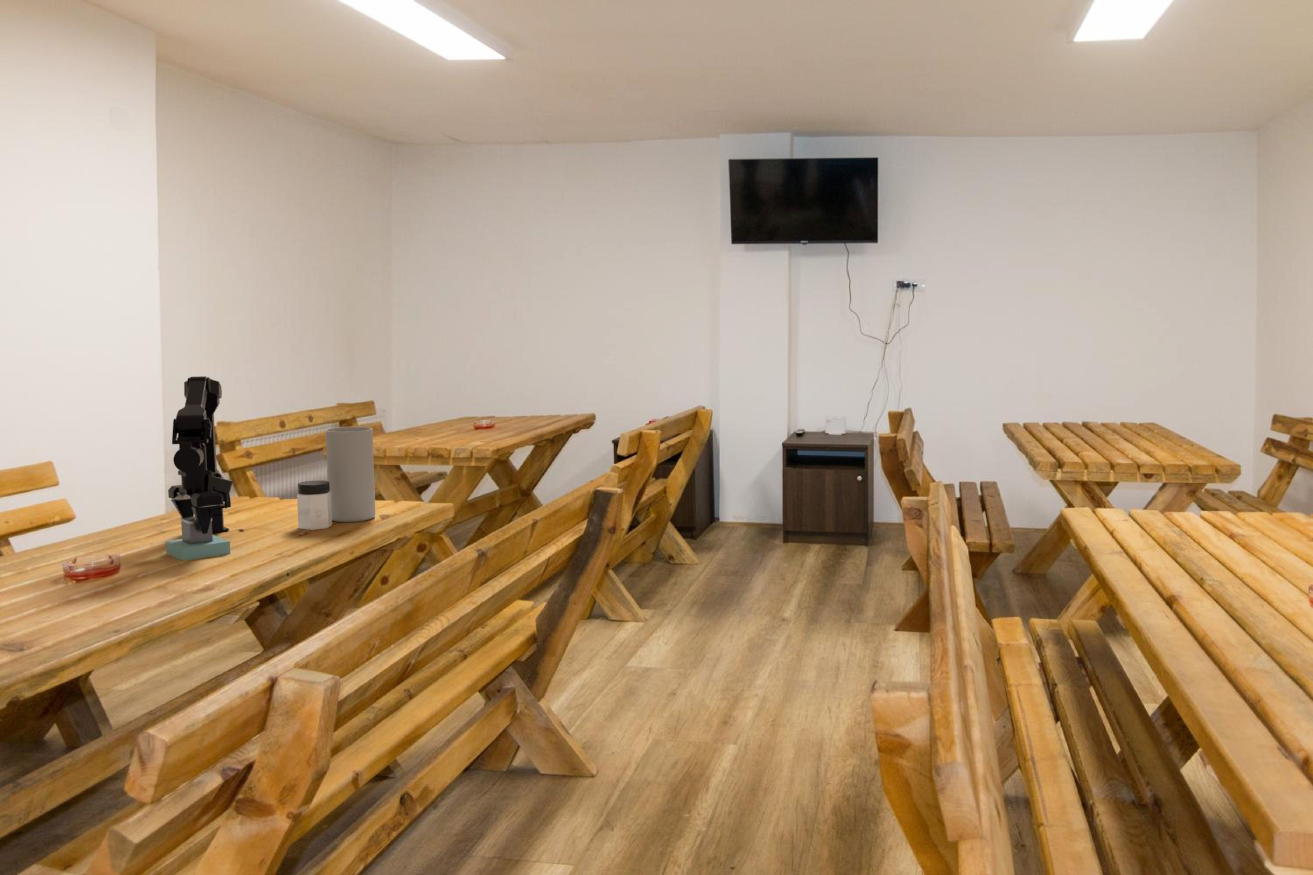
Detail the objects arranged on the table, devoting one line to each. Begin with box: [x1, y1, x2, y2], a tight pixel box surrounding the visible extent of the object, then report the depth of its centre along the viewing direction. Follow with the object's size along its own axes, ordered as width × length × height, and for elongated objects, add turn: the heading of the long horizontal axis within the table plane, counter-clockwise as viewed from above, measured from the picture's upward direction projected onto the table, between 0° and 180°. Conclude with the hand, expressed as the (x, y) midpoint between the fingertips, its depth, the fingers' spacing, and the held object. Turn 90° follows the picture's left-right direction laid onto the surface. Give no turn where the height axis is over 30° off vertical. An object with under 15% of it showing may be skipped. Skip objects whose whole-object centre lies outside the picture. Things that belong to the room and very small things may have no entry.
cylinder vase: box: [324, 426, 376, 523], centre depth 304 cm, size 12×12×25 cm
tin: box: [180, 515, 213, 545], centre depth 261 cm, size 5×5×6 cm
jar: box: [296, 480, 333, 531], centre depth 293 cm, size 9×8×12 cm
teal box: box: [165, 534, 231, 562], centre depth 262 cm, size 11×11×4 cm
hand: (197, 530), depth 261 cm, fingers open, 9 cm apart
